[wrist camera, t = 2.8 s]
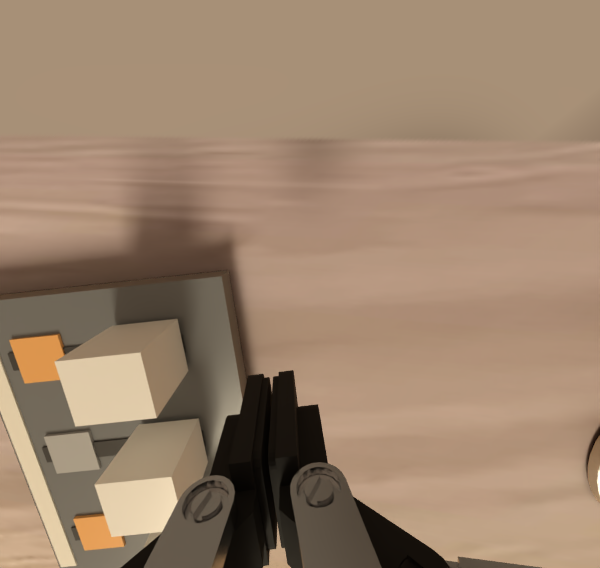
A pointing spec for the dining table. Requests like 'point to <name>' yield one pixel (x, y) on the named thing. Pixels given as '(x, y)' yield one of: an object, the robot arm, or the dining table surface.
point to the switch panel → (110, 436)
